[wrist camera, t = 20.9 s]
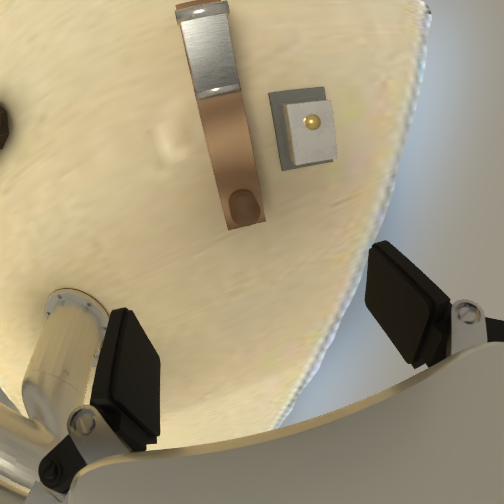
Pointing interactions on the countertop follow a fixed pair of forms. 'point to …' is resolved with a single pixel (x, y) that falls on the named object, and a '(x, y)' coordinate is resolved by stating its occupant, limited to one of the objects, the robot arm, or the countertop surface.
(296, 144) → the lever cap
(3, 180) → the countertop surface
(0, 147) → the lantern
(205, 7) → the lever
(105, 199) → the countertop surface
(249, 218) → the plane body
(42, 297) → the countertop surface
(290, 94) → the mat
